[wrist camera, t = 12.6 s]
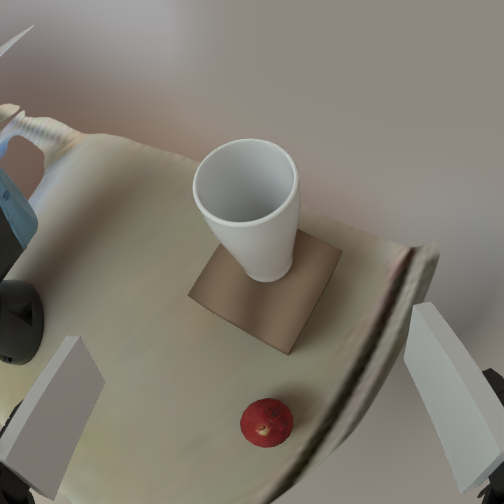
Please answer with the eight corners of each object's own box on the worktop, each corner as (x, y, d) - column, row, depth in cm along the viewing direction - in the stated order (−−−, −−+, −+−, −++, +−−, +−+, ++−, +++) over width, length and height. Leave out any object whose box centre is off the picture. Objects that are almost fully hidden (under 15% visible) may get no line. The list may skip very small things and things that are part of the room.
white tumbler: (226, 243, 34) (179, 159, 20) (284, 220, 34) (273, 123, 20) (248, 301, 31) (207, 245, 17) (310, 275, 31) (319, 201, 17)
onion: (265, 386, 35) (259, 392, 28) (302, 413, 33) (306, 425, 26) (236, 420, 34) (222, 434, 27) (272, 447, 32) (268, 467, 25)
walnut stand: (206, 308, 39) (187, 295, 32) (253, 232, 42) (245, 204, 35) (288, 355, 36) (287, 353, 29) (332, 272, 39) (342, 251, 32)
